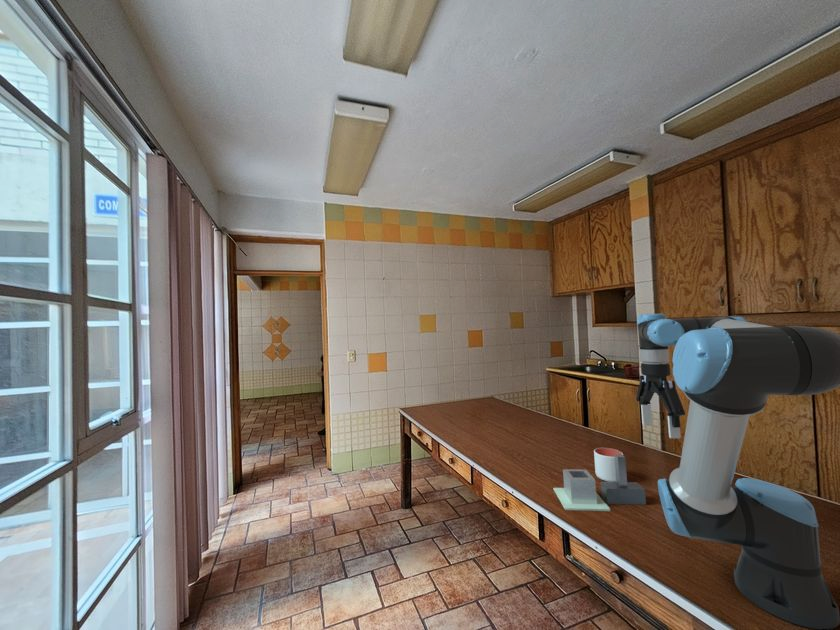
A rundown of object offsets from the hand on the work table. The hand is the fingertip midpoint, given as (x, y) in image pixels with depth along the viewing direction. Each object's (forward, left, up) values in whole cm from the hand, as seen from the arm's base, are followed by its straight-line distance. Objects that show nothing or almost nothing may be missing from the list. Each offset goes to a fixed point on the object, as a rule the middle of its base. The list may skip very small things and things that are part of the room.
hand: (660, 431), depth 102 cm
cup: (+27, +5, -27) cm, 38 cm away
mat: (+10, +22, -26) cm, 36 cm away
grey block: (+10, +8, -26) cm, 29 cm away
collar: (+10, +22, -26) cm, 35 cm away
